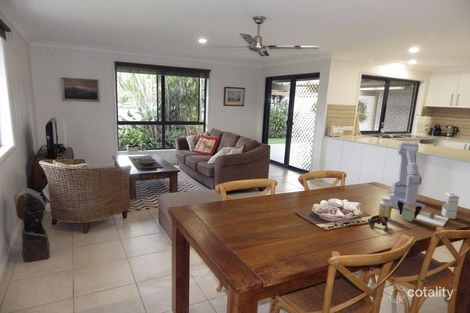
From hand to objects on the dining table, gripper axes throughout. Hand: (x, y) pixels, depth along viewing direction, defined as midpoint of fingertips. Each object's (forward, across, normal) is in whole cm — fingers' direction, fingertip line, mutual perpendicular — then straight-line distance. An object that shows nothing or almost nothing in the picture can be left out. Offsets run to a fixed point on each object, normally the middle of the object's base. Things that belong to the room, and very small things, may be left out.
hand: (407, 216), depth 171 cm
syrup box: (+2, +16, +25) cm, 30 cm away
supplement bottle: (+2, -10, -10) cm, 14 cm away
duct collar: (+2, 0, 0) cm, 2 cm away
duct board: (+2, +10, +11) cm, 15 cm away
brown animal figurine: (+2, -7, -27) cm, 28 cm away
